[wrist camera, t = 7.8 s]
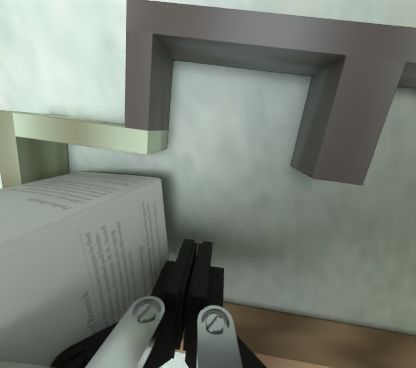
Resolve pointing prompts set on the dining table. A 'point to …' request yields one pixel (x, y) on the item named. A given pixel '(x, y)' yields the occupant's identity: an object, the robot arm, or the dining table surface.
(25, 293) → the skincare box
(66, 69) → the dining table surface
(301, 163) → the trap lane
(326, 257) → the dining table surface
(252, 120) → the dining table surface
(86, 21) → the dining table surface
